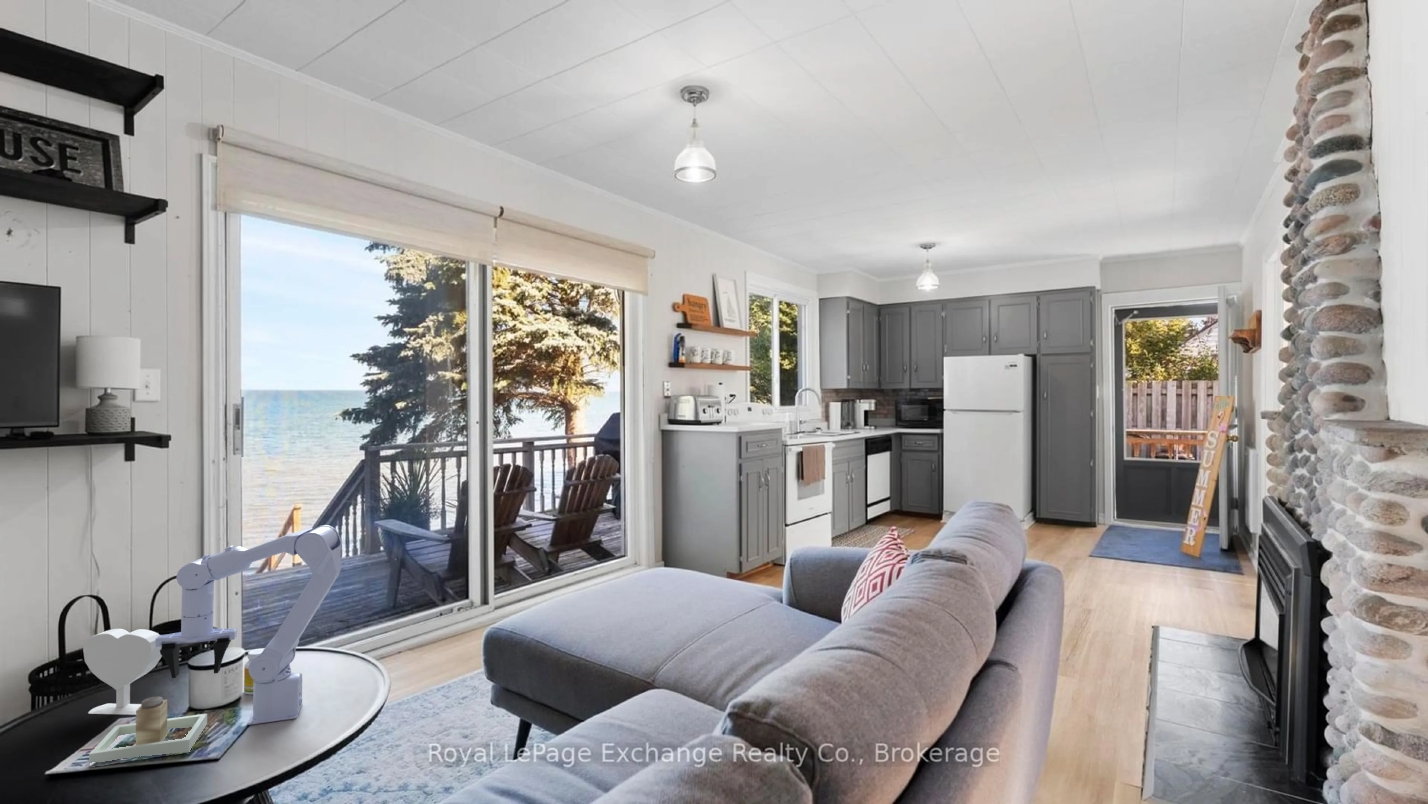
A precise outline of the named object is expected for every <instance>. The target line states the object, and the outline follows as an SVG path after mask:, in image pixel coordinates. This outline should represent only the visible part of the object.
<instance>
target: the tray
mask: <svg viewBox="0 0 1428 804" xmlns="http://www.w3.org/2000/svg"><path fill="white" fill-rule="evenodd" d="M206 725H207V726H208V713H201V714H193V715H185V716H179V717H171V718H170V717H169V718H167V729H172V728H189V727H192V729H191V730H190V731H188V734H187V735H186V734H185V735H186V737H184V738H182V739H175V740H168V741H161V742H154V743H147V744H140V745H133V746H126V747H119V748H113V749H107V748H108V747H109V746H110V745H111V744H112V743H113V742H114V741H115V739H116V738H117V737H118V736H119V735H125V734H131V733H136V722H133V723H132V722H131V723H125V724H119V725H115V726H113V728H112V729H110V731H109V732H108V733H107V734H106V735H105V736H104V738H103V739H102V740H101V741H100V742H99V743H98V744H97V745H96V746H95V747H94V749H92V750H91V751H90V753H89V754H88V764H89V763H92V762H105V761H112V760H117V759H122V758H131V757H139V756H140V757H141V756H152V755H162V754H170V753H178V752H190V753H191V751H192V750H191V748H192V746H193V745H194V744H195V742H196V740H197V739H198V737H199V735H200V734H201V732H202V731H203V729H204V728H205V726H206ZM205 729H206V728H205ZM203 732H204V731H203ZM201 735H202V734H201ZM198 740H199V739H198ZM196 743H197V742H196ZM195 745H196V744H195ZM195 745H194V746H195ZM192 749H193V748H192ZM190 750H191V751H190Z"/></svg>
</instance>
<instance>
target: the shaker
mask: <svg viewBox="0 0 1428 804" xmlns="http://www.w3.org/2000/svg"><path fill="white" fill-rule="evenodd" d="M140 704H141V706H140V707H139V708H138V709H137V710H136V715H135V723H136V745H140V744H147V743H154V742H161V741H163V740H164V739H165V737H166V736H167V719H168V699H164V698H163V697H162V696H152V697H147V698H145V699H143V700H141V703H140Z"/></svg>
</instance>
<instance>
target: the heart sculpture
mask: <svg viewBox="0 0 1428 804" xmlns="http://www.w3.org/2000/svg"><path fill="white" fill-rule="evenodd" d="M159 635H160V634H159V632H156V631H153V630H150V629H146V628H145V629H144V628H142V629H141V628H139V629H135V630H133V631H130V632H129V631H128V630H126V629H123V628H113V629H108V630H105V631H103V632H100V633H97V634H94V635H92V636H89V637H88V638H86V639H85V640H84V642H83V647H82V651H83V658H84V662H85V664H86V665H87V667H88V670H89V671H90V672H91V673H92V674H93V675H95V677H97V678H98V679H99V680H100V681H102V682H104V683H105V684H107V685H108V686H110V687H112V689H114V690H115V691H116V693H115V695H116V697H115V699H116V702H115V703H111V702H110V703H108V702H107V703H105V704H102V705H98V706H96V707H93V708H92V709H90V710H89V711H88V712H87V713H88V714H90V715H91V714H92V715H93V714H97V715H129V716H131V715H133V716H134V715H135V716H136V710H137V709H138V708H139V707H140V706H141V703H131V694H130V693H131V684H132V683H133V682H135V681H136V680H138V679H140V678H142V677H144V675H146V674H148V673H149V672H150V671H152V670H153V669H154V668H156V666H157V664H158V663H159V661H160V660H161V658H163V656H162V655H161V654H160V650H161V647H162V646H161V647H155V641H156V638H157V637H158V636H159Z"/></svg>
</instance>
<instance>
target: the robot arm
mask: <svg viewBox="0 0 1428 804" xmlns="http://www.w3.org/2000/svg"><path fill="white" fill-rule="evenodd" d="M313 528H314V527H313ZM313 528H311V527H310V528H306V529H303V530H302V529H301V530H298V531H294V532H291V533H288V534H286V535H283V536H279V537H277V538H275V539H272V540H270V541H266V542H264V543H261V544H259V545H256V546H253V547H251V548H246V547H244V546H241V545H239V546H238V545H237V546H235V547H234V545H230V546H227V547H225V548H224V550H223V551H221V552H218V553H215V554H211V555H210V554H205V555H203V556H202V557H201V558H199V559H196V560H194V561H191V562H189V563H187V564H185V565H183V566H182V567H181V568H180V569H179V570H178V571H177V573H176V582H177V584H178V585H179V586H180V587H181V616H180V617H181V619H180V620H181V621H180V624H181V625H180V627H181V629H180V630H181V631H179V632H174V633H169V634H159V636H158V637H157V638H156V641H155V647H161V646H162V647H161V650H160V654H161V655H162V658H163V659H164V660H165V662H166V664H167V666H168V668H169V671H170V675H171V679H175V678H177V677H178V676H179V675H180V653H181V652H180V650H181V644H182V645H183V644H190V643H201V642H202V643H203V642H210V641H211V642H213V641H215V642H214V643H213V645H212V647H213V655H214V657H213V658H214V662H213V663H214V664H213V674H219V672H220V671H221V666H222V662H223V659H224V656H225V653H226V651H227V649H228V647H229V645H230V643H231V642H232V641H233V640H235V639H237V637H238V628H236V627H235V628H214V604H215V602H214V599H215V597H214V596H215V592H214V591H215V581H219V580H223V579H225V578H228V577H231V576H233V575H237V574H240V573H243V572H245V571H248V570H249V568H250V566H251V564H253V563H254V562H257V561H260V560H264V559H266V558H269V557H273V556H276V555H280V554H283V553H287V554H288V555H291V556H293V557H294V556H296V555H298V556H299V558H300V559H301V560H302V561H303V562H304V563H305V564H306V565H307V567H309V569H310V571H311V574H312V576H311V577H310V579H309V580H308V582H307V584H306V586H305V587H304V589H303V590H302V592H301V593H300V595H299V597H298V598H297V599H296V601H295V603H294V605H293V606H292V608H291V609H290V611H289V612H288V614H287V616H286V617H285V619H284V620H283V622H282V624H281V625H280V626H279V628H278V630H277V631H276V633H275V635H274V636H273V638H272V639H271V640H270V641H269V642H268V644H266V646H265V647H264V648H263V649H264V650H263V652H262V653H261V654H260V655H258V656H257V657H255V658H254V659H253V660H252V661H251V663H250V665H249V674H250V676H251V678H252V679H254V680H253V696H252V712H251V713H252V714H253V715H252V714H251V715H250V716H249V719H248V721H247V722H246V724H247V725H248V726H250V725H257V724H259V725H260V724H265V723H271V722H278V721H286V720H291V719H292V720H293V719H297V718H298V716H299V713H300V710H301V708H302V705H303V674H302V672H292V669H291V668H292V667H291V663H292V662H293V661H294V659H295V657H296V651H297V647H298V645H299V643H300V639H301V637H302V636H303V633H304V631H306V629H307V627H308V625H309V624H310V622H311V620H312V619H313V617H314V616H315V614H316V612H317V611H318V609H319V608H320V606H321V605H322V603H323V601H324V599H325V598H326V596H327V595H328V593H329V591H330V590H331V588H332V586H333V585H334V583H335V582H336V580H337V579H338V577H339V576H340V573H341V569H342V567H341V564H342V562H341V559H342V557H341V556H342V555H341V552H342V551H341V550H342V546H343V545H342V544H343V539H342V538H341V536H340V534H339V532H338V530H337V529H336V528H335V527H334V526H331V525H327V524H323V525H319V526H317V527H315V528H314V529H313Z"/></svg>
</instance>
